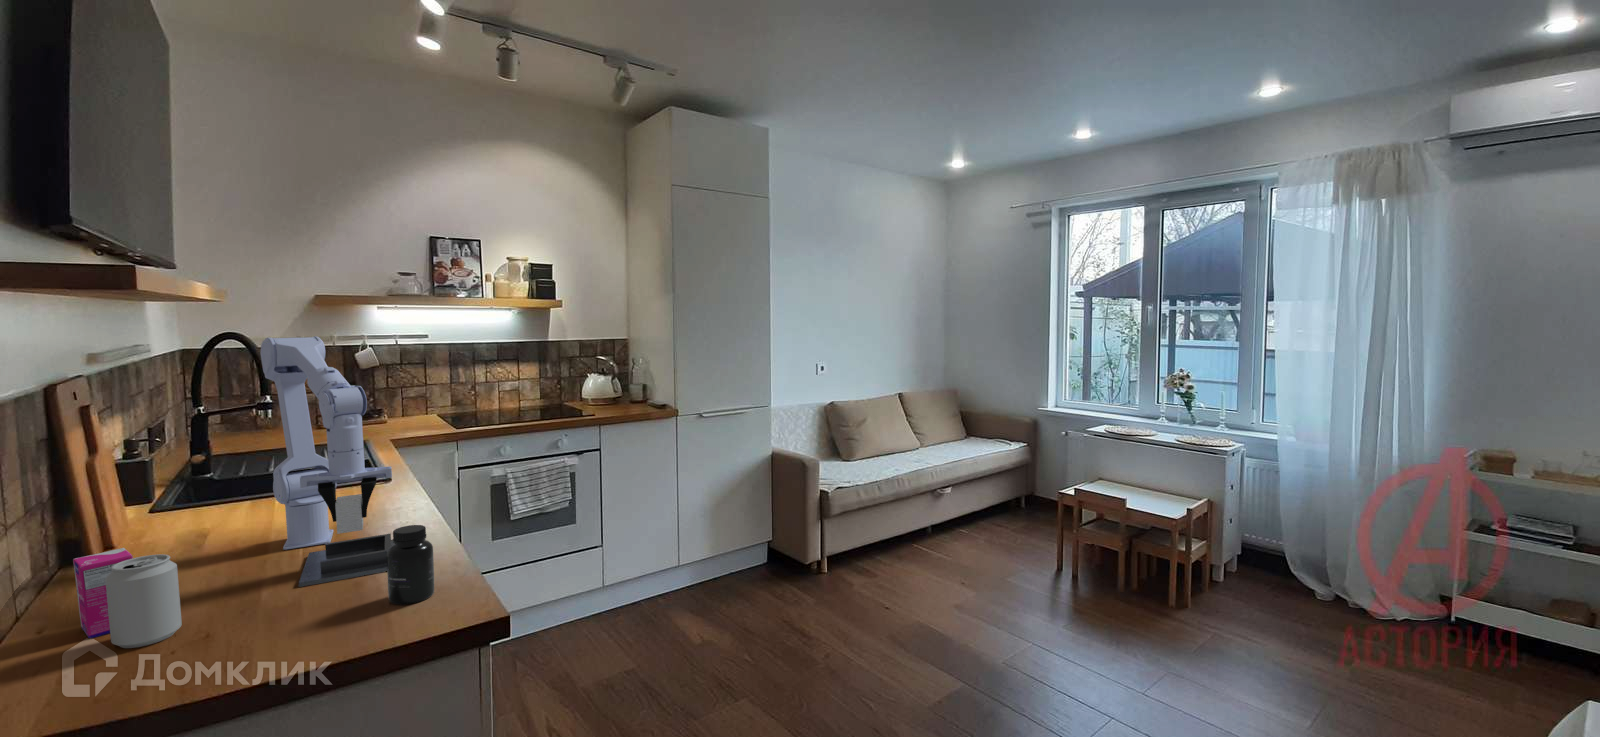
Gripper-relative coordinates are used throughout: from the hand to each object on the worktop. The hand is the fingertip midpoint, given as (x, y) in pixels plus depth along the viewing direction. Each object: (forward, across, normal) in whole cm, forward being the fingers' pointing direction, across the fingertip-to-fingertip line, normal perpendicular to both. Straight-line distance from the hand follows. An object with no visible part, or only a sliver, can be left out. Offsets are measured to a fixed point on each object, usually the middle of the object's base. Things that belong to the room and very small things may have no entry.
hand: (350, 518), depth 126 cm
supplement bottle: (+9, +10, -25) cm, 28 cm away
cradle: (+9, 0, 0) cm, 9 cm away
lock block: (+2, 0, 0) cm, 2 cm away
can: (+9, -24, -20) cm, 33 cm away
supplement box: (+9, -30, -12) cm, 34 cm away
